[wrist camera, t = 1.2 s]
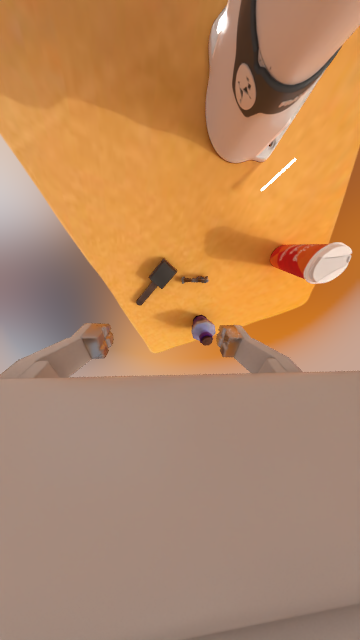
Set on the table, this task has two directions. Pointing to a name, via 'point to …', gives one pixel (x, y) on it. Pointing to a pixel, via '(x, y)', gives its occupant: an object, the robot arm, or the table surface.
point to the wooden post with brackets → (195, 279)
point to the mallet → (158, 279)
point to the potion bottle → (203, 330)
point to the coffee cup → (312, 260)
